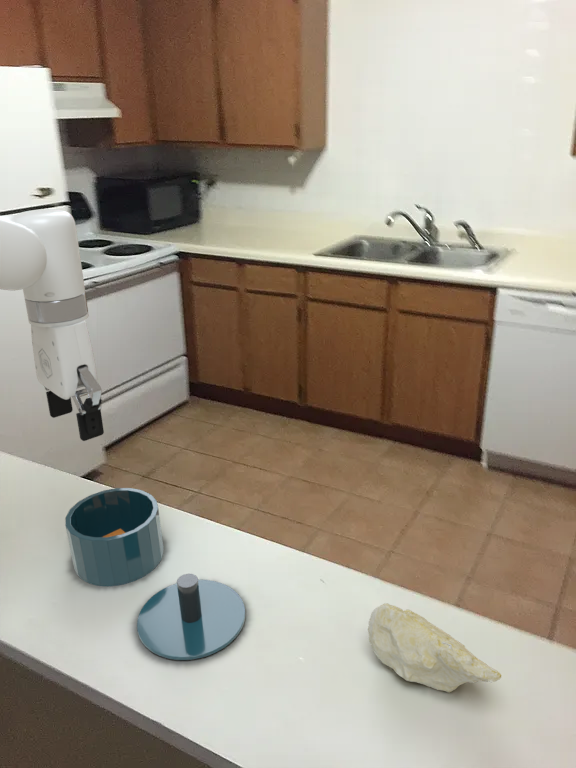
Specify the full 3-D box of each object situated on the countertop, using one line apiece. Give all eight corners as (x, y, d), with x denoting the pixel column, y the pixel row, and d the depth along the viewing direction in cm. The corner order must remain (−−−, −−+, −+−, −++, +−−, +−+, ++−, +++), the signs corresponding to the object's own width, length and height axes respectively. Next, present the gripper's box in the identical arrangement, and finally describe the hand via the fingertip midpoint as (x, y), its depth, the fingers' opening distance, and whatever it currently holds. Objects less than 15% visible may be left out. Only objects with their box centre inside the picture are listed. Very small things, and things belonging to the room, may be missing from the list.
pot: (134, 595, 96) (127, 547, 93) (56, 577, 101) (46, 530, 97) (179, 539, 108) (173, 495, 105) (106, 525, 112) (99, 482, 109)
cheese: (356, 644, 89) (349, 659, 75) (381, 593, 90) (378, 598, 76) (464, 706, 85) (477, 734, 71) (488, 652, 86) (506, 669, 72)
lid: (218, 675, 83) (214, 631, 80) (116, 648, 87) (109, 606, 84) (261, 596, 95) (258, 556, 92) (170, 577, 100) (165, 538, 97)
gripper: (4, 300, 91) (26, 414, 97) (57, 329, 79) (78, 456, 85) (57, 290, 95) (74, 399, 102) (115, 315, 83) (130, 437, 90)
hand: (76, 425), depth 94 cm, fingers open, 9 cm apart
